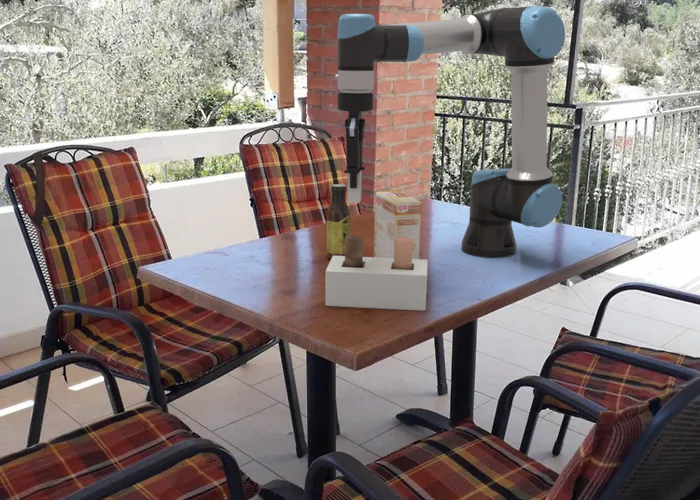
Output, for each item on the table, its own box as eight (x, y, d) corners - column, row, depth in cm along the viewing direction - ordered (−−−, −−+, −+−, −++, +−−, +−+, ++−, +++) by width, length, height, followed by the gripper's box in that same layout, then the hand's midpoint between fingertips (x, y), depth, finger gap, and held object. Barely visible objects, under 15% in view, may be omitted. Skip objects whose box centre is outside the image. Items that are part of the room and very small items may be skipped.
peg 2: (411, 271, 160) (412, 237, 158) (411, 277, 156) (412, 242, 154) (393, 270, 161) (394, 236, 159) (392, 276, 157) (393, 241, 155)
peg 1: (363, 269, 162) (363, 235, 159) (361, 274, 158) (361, 240, 155) (345, 268, 162) (346, 234, 160) (343, 274, 158) (343, 239, 156)
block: (426, 292, 165) (427, 259, 163) (425, 310, 154) (427, 275, 152) (332, 288, 168) (333, 255, 166) (325, 305, 156) (325, 271, 154)
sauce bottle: (347, 261, 188) (347, 188, 183) (324, 260, 189) (324, 187, 184) (352, 255, 194) (352, 183, 189) (329, 253, 196) (329, 182, 190)
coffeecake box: (419, 279, 175) (422, 201, 169) (392, 281, 173) (394, 203, 167) (398, 262, 189) (400, 190, 183) (372, 264, 187) (374, 191, 181)
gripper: (342, 89, 156) (341, 194, 163) (332, 93, 142) (332, 208, 149) (376, 89, 155) (374, 195, 162) (370, 93, 141) (368, 209, 148)
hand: (354, 201), depth 155 cm, fingers open, 2 cm apart
